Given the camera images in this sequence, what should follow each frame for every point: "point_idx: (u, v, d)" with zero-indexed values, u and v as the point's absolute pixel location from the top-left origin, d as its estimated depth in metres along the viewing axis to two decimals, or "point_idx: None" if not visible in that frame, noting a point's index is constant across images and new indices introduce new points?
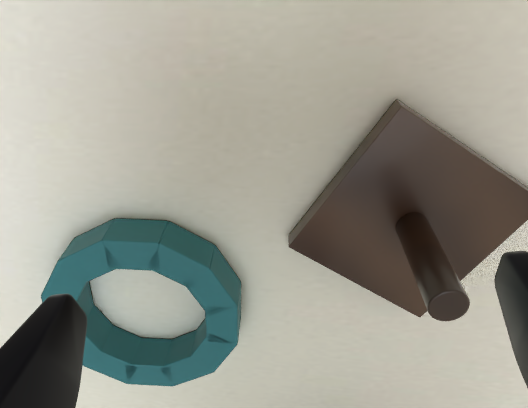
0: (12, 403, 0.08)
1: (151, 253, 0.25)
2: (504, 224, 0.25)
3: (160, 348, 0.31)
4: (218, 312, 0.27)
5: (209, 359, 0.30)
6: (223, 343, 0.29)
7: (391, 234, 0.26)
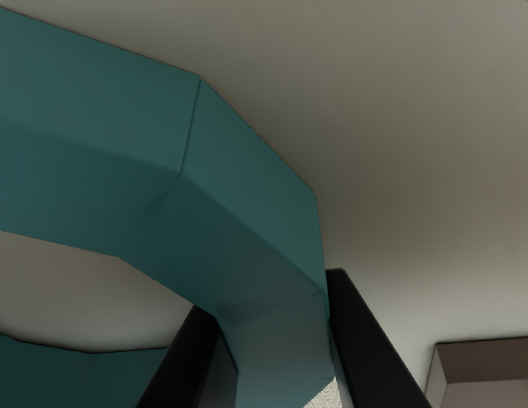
0: (207, 390, 0.07)
1: (273, 294, 0.07)
2: None
3: None
4: None
5: None
6: None
7: None
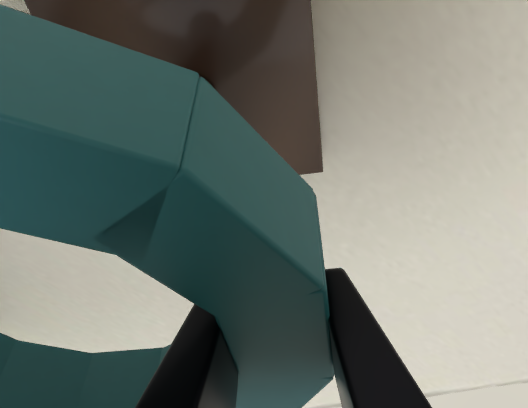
0: (208, 390, 0.07)
1: (272, 293, 0.07)
2: None
3: None
4: None
5: None
6: None
7: None
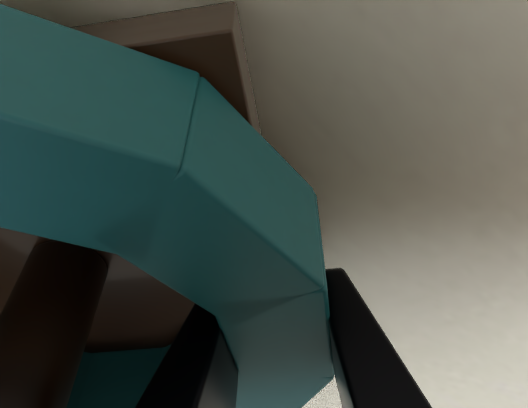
0: (208, 390, 0.07)
1: (273, 292, 0.07)
2: None
3: None
4: None
5: None
6: None
7: (14, 252, 0.11)
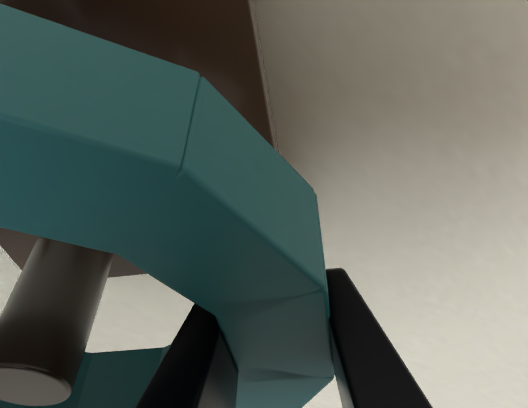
0: (208, 390, 0.07)
1: (273, 293, 0.07)
2: None
3: None
4: None
5: None
6: None
7: None
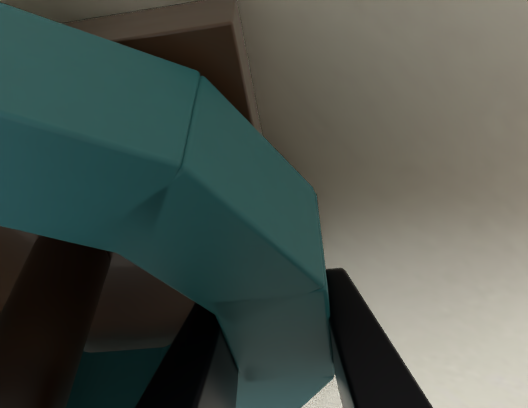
0: (208, 390, 0.07)
1: (273, 292, 0.07)
2: None
3: None
4: None
5: None
6: None
7: (18, 243, 0.11)
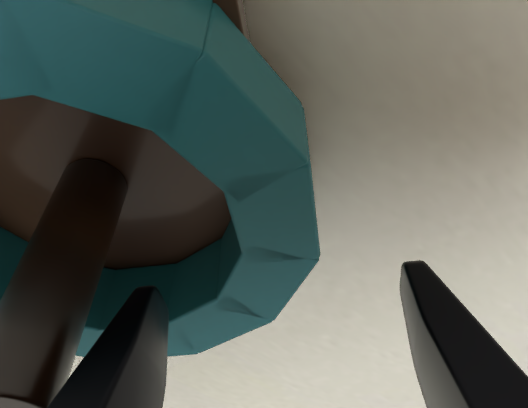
0: (119, 396, 0.07)
1: (269, 167, 0.10)
2: None
3: None
4: (234, 312, 0.13)
5: None
6: (180, 343, 0.15)
7: (50, 170, 0.13)
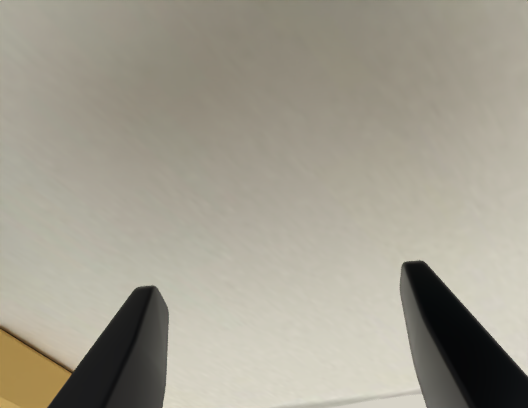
0: (118, 396, 0.07)
1: None
2: None
3: None
4: None
5: None
6: None
7: None
